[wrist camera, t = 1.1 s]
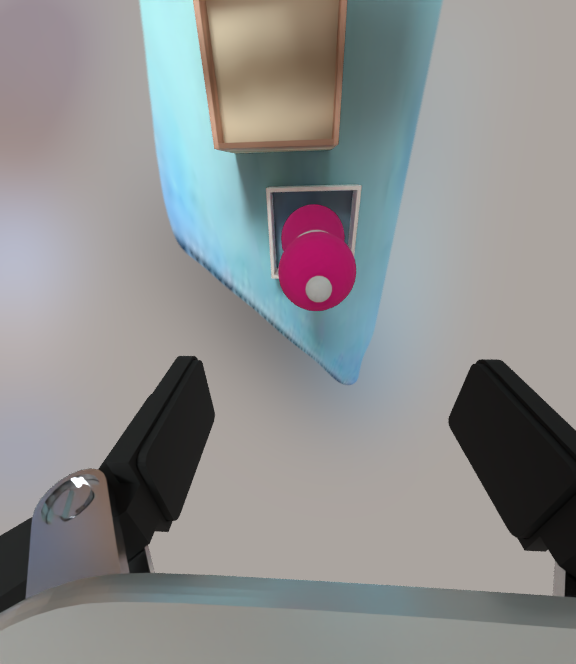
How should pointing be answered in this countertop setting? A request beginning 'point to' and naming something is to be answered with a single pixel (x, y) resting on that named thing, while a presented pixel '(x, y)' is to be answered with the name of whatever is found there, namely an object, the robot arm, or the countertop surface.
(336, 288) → the pepper mill
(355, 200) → the collar
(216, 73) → the wooden box
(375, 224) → the countertop surface
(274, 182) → the countertop surface
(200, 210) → the countertop surface
